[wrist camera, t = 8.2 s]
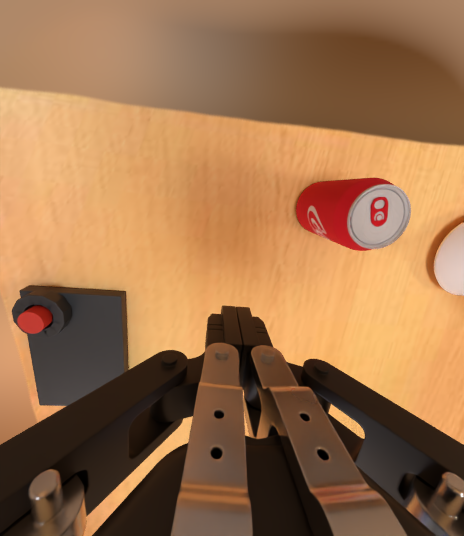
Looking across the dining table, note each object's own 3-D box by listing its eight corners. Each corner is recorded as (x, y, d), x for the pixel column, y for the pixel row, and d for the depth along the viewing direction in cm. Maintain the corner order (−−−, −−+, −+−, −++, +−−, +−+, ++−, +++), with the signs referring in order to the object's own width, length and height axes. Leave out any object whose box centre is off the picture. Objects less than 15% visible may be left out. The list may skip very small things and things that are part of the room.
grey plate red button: (28, 282, 31) (6, 293, 28) (125, 288, 32) (115, 300, 29) (47, 395, 37) (30, 416, 33) (129, 397, 38) (121, 417, 35)
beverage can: (296, 235, 32) (342, 261, 20) (292, 186, 30) (341, 184, 18) (342, 227, 32) (415, 248, 21) (341, 177, 30) (420, 170, 19)
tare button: (26, 304, 29) (15, 311, 27) (51, 305, 29) (41, 312, 27) (30, 325, 30) (19, 333, 28) (54, 326, 30) (45, 334, 28)
